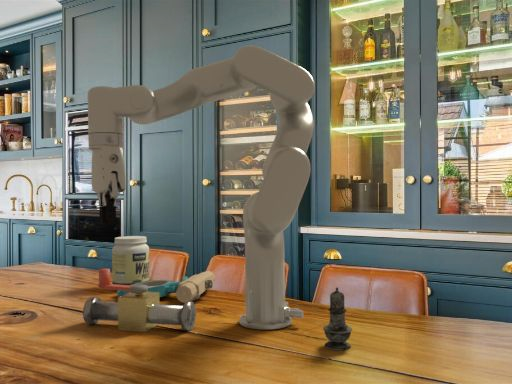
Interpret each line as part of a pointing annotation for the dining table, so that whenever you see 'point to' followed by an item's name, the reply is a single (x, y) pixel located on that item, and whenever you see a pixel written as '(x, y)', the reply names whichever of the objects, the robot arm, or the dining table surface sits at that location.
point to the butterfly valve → (179, 286)
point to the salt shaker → (337, 324)
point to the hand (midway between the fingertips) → (107, 223)
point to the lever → (105, 284)
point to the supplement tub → (130, 260)
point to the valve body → (139, 312)
